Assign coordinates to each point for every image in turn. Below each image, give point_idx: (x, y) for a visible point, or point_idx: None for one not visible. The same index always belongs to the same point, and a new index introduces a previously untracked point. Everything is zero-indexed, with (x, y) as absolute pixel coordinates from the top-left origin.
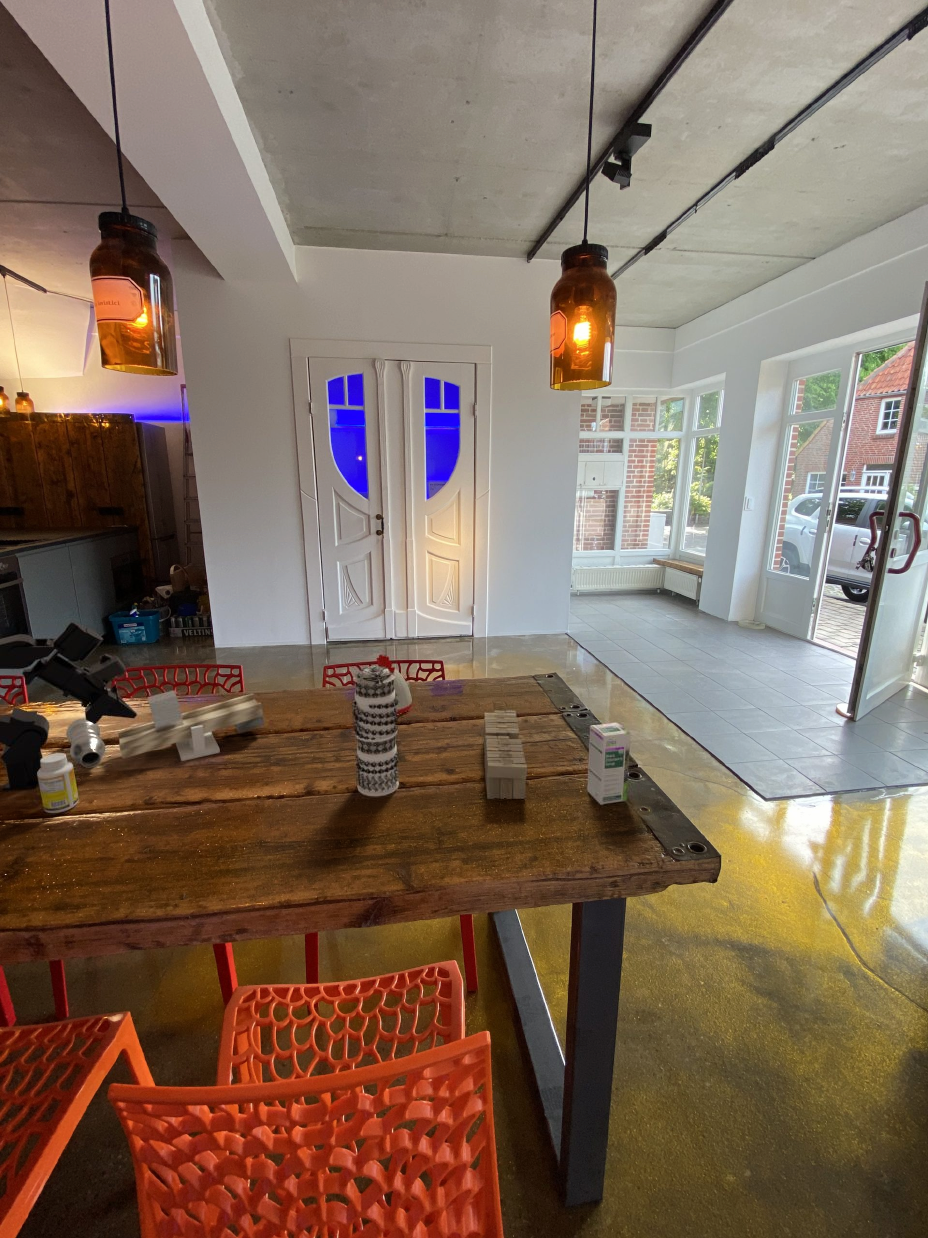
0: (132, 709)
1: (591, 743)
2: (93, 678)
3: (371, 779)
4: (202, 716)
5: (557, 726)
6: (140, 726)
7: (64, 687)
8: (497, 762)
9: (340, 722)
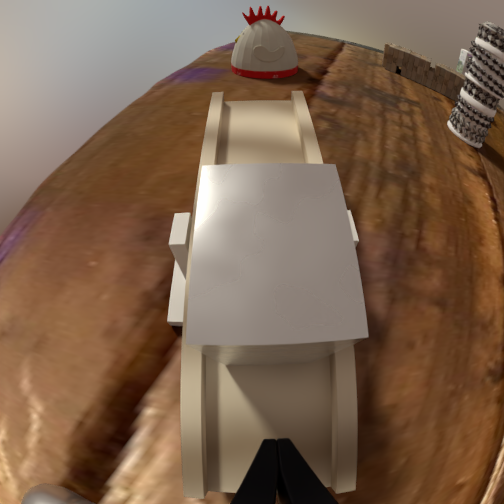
0: (262, 464)
1: (467, 61)
2: None
3: (487, 131)
4: None
5: (367, 50)
6: (196, 418)
7: None
8: None
9: (287, 94)
